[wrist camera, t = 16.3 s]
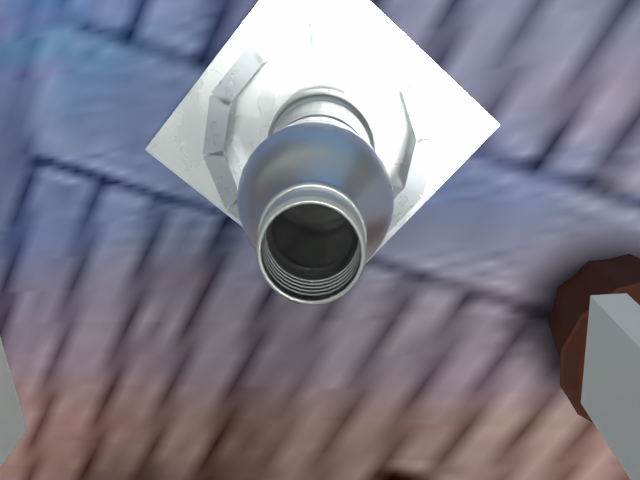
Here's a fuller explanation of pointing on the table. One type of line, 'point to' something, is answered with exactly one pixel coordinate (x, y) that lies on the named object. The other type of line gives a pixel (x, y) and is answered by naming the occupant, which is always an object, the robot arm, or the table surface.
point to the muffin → (586, 315)
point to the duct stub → (330, 73)
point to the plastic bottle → (315, 197)
